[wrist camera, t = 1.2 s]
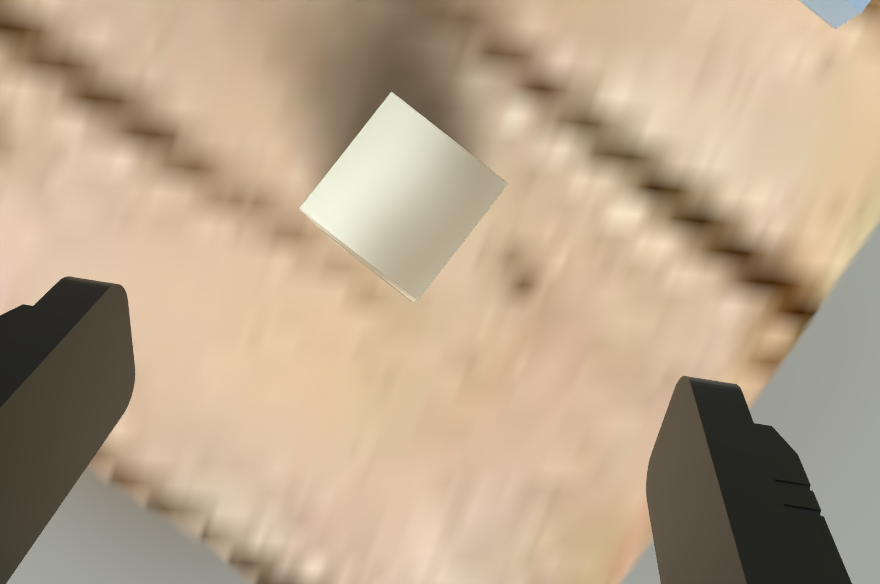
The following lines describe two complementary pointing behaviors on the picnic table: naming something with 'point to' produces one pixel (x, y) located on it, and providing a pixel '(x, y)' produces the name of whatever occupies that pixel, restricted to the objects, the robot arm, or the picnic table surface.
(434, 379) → the picnic table surface
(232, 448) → the picnic table surface
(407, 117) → the birch post
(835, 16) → the light blue rectangular block
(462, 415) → the picnic table surface
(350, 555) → the picnic table surface
